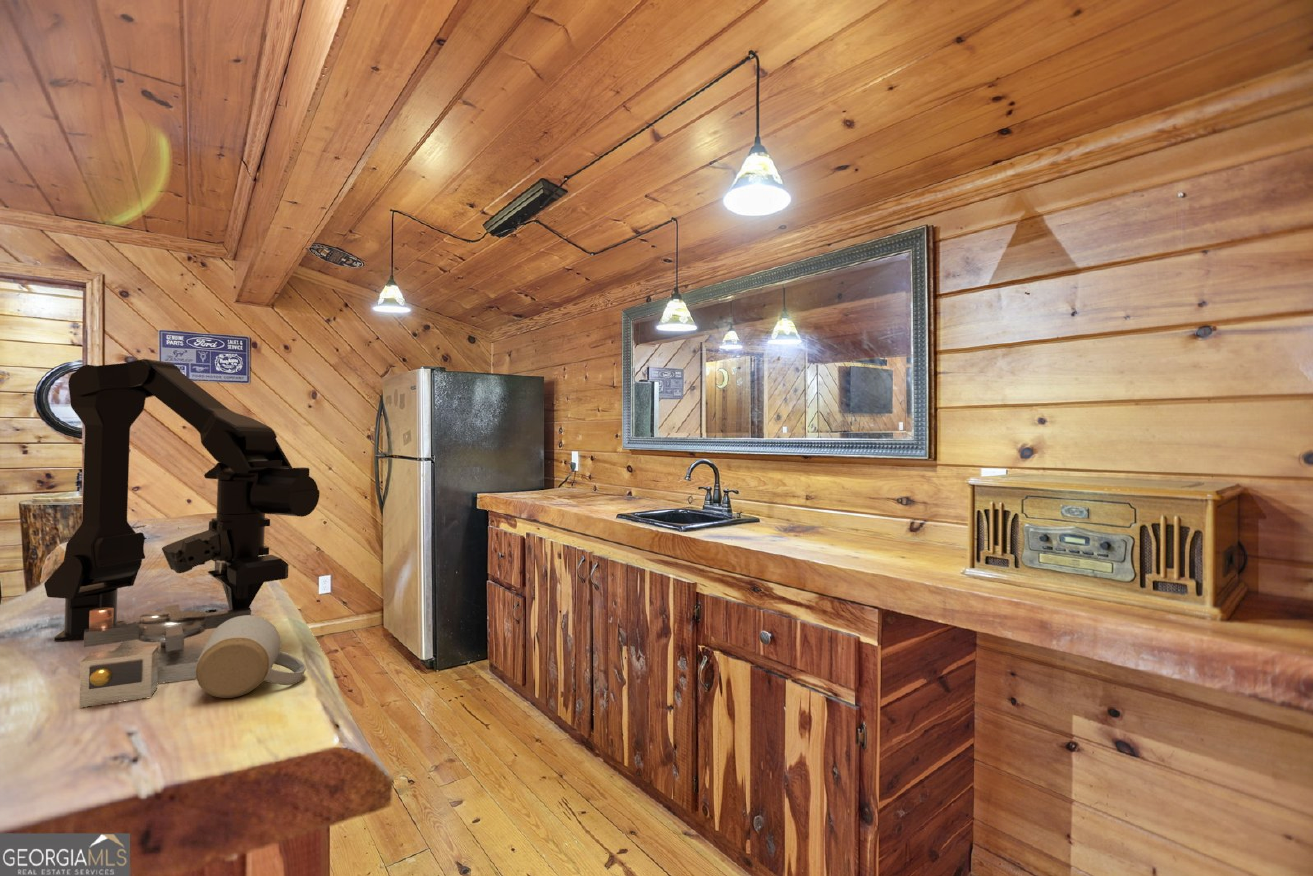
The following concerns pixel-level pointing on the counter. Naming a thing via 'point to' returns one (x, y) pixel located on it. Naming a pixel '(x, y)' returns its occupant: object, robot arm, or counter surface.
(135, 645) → the stand
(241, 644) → the ceramic mug
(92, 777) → the counter surface
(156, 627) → the capstan
